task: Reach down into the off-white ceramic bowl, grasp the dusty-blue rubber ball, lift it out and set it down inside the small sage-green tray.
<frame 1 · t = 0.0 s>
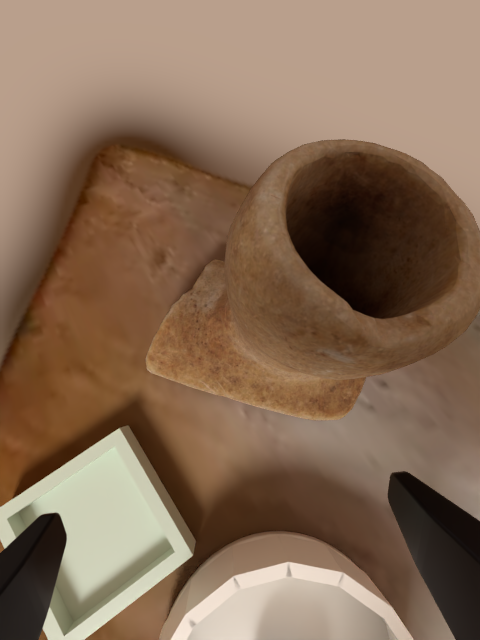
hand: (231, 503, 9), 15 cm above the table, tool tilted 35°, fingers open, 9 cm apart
tan boot vase: (268, 329, 25), on the table
tray: (102, 522, 22), on the table
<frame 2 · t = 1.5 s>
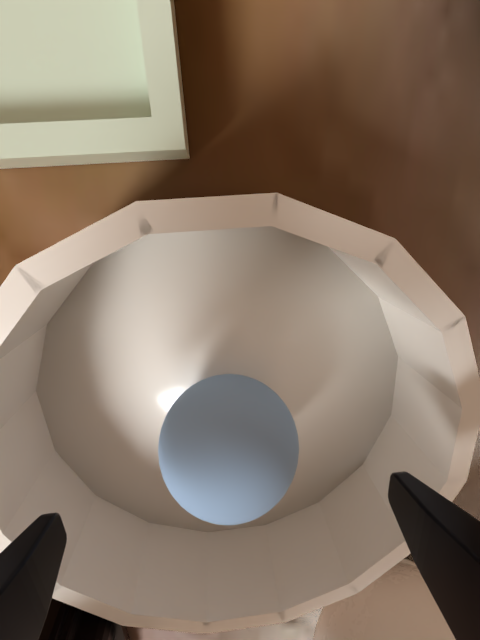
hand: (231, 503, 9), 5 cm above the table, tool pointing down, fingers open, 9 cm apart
ball: (229, 443, 11), point 3 cm above the table, touching bowl
bowl: (224, 390, 14), on the table
lidded jar: (373, 586, 20), on the table
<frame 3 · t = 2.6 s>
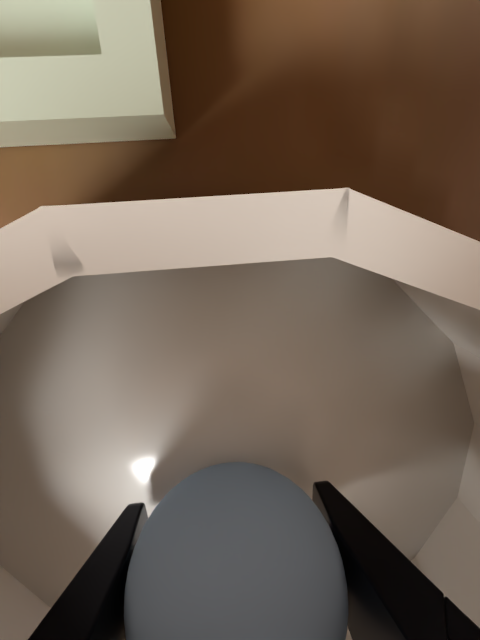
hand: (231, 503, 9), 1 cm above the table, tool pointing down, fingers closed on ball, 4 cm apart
ball: (236, 577, 7), point 3 cm above the table, touching bowl, gripper
bowl: (228, 463, 10), on the table
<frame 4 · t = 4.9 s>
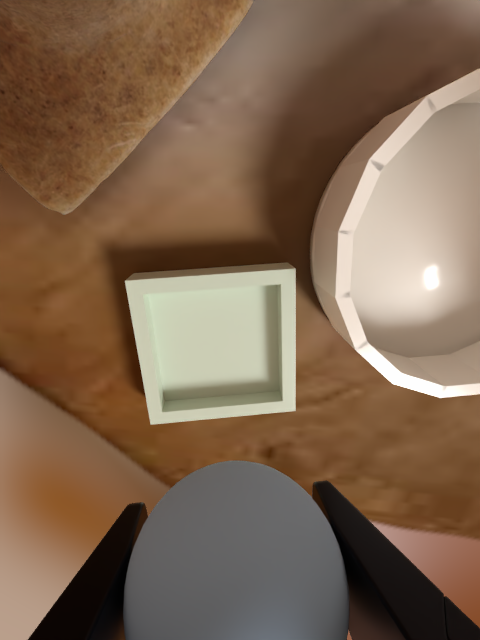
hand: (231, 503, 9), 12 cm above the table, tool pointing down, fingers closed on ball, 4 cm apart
ball: (236, 577, 7), point 14 cm above the table, touching gripper
tan boot vase: (86, 1, 15), on the table
tray: (217, 338, 20), on the table
bowl: (435, 243, 19), on the table
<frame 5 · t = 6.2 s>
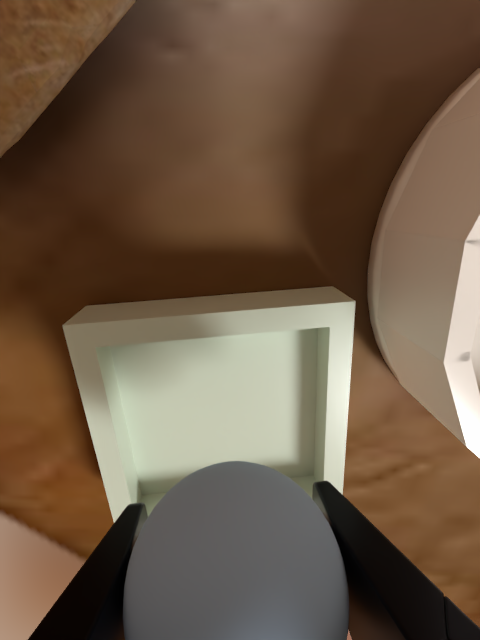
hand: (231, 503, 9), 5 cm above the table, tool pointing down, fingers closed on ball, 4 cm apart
ball: (236, 577, 7), point 7 cm above the table, touching gripper
tray: (221, 400, 13), on the table
when the fingers open (3 cm above the table, at t = 7.0 s): ball drops 2 cm, resting on tray.
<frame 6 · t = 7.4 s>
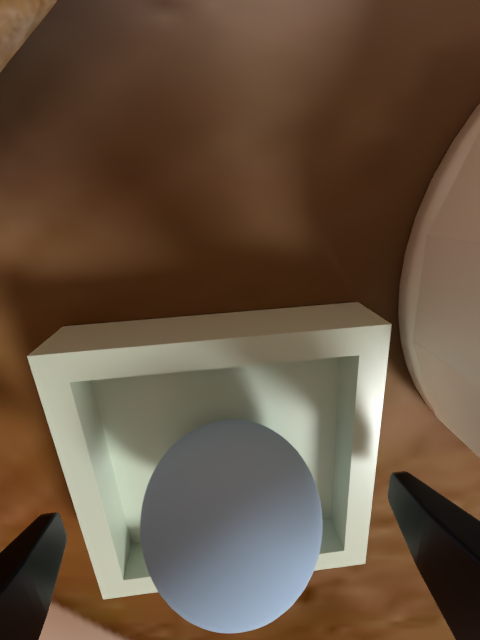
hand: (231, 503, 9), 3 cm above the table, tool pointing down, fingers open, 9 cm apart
ball: (232, 511, 8), point 3 cm above the table, touching tray
tray: (225, 434, 11), on the table
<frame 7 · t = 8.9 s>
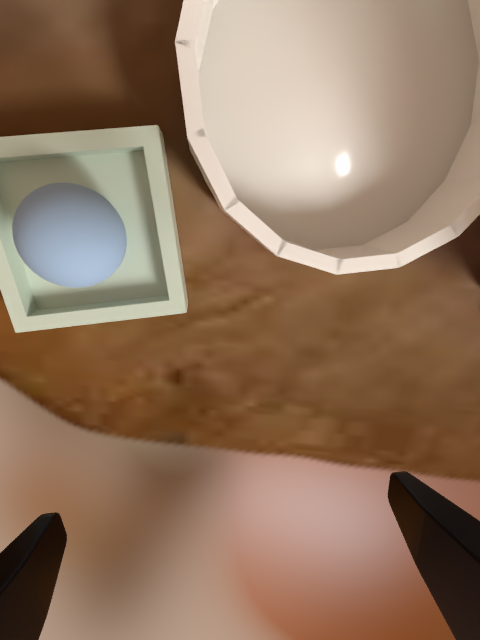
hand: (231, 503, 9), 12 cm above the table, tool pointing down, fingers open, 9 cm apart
ball: (73, 237, 15), point 3 cm above the table, touching tray
tray: (94, 233, 18), on the table
bowl: (334, 109, 17), on the table
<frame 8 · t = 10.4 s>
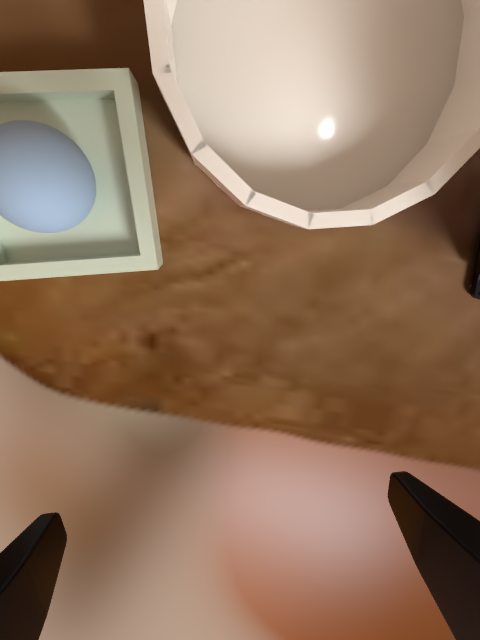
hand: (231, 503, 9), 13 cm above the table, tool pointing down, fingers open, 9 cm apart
ball: (40, 180, 14), point 3 cm above the table, touching tray
tray: (67, 185, 17), on the table
bowl: (314, 65, 17), on the table
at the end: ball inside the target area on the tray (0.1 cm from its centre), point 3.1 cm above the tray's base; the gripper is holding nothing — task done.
